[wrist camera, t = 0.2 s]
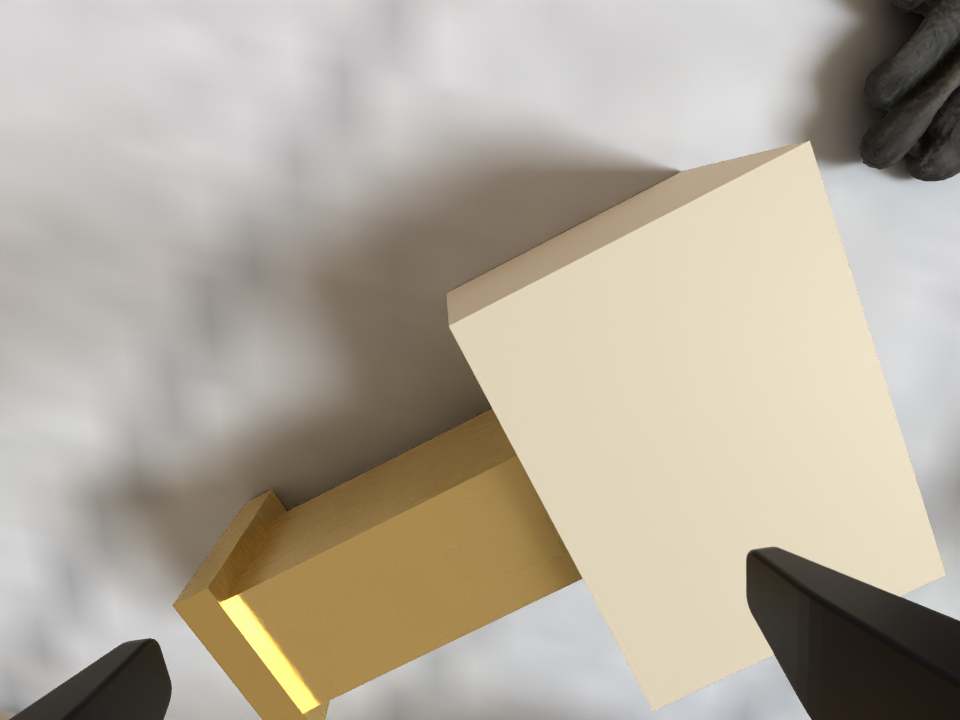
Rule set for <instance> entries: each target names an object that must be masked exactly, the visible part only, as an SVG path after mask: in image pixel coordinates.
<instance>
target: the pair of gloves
mask: <svg viewBox="0 0 960 720" xmlns="http://www.w3.org/2000/svg"><path fill="white" fill-rule="evenodd" d="M891 5H893V6H894V7H896V8H898V9H899V10H901V11H903V12H905V13H907V12H915V13H919V14H922V15H923V16H924V17H925V18H924V20H923V21H922V23H921V24H920V26H919V27H918V29H917V30H916V31H915V33H914V34H913V35H912V36H911V38H910V39H909V40H908V41H907V42H906V43H905V45H904V46H903V47H902V48H901V49H900V50H899V51H898V52H897V53H896V54H895V55H894V56H893V57H892V58H891V59H888V60H885V61H884V62H882V63H881V64H880V65H879V66H878V67H876V68H875V69H874V70H873V71H872V72H871V73H870V74H869V76H868V77H867V79H866V81H865V82H866V83H865V88H864V93H865V96H866V99H867V101H868V103H869V105H871V106H873V107H875V108H877V109H880V110H888V114H887V115H886V116H885V117H884V118H882V119H880V120H879V121H877V122H875V123H873V124H872V125H871V126H870V127H869V128H868V129H867V131H866V132H865V133H864V134H863V135H862V138H861V143H860V148H859V149H860V156H861V157H862V158H863V163H864V164H866V165H867V166H869V167H873V168H877V169H884V168H888V167H890V166H892V165H894V164H897V163H898V162H899V161H900V160H901V159H902V158H903V157H904V162H905V167H906V169H907V171H908V173H909V174H910V175H912V176H913V177H915V178H916V179H919V180H922V181H940V180H945V179H947V178H950V177H952V176H954V175H956V174H958V173H959V172H960V0H891Z"/></svg>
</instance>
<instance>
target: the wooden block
mask: <svg viewBox="0 0 960 720" xmlns="http://www.w3.org/2000/svg"><path fill="white" fill-rule="evenodd" d="M580 579H582V576H581V574H580V573H579V571H578V569H577V567H576V565H575V563H574V561H573V559H572V557H571V556H570V554H569V552H568V550H567V548H566V546H565V544H564V542H563V541H562V539H561V537H560V535H559V533H558V531H557V529H556V527H555V525H554V524H553V522H552V520H551V518H550V516H549V514H548V512H547V510H546V509H545V507H544V505H543V503H542V501H541V499H540V497H539V495H538V493H537V492H536V490H535V488H534V486H533V484H532V482H531V480H530V478H529V476H528V475H527V473H526V471H525V469H524V467H523V465H522V463H521V461H520V460H519V458H518V456H517V454H516V452H515V450H514V448H513V446H512V444H511V443H510V441H509V439H508V437H507V435H506V433H505V431H504V429H503V428H502V426H501V424H500V422H499V420H498V418H497V416H496V414H495V412H494V411H493V409H490V410H488V411H486V412H484V413H482V414H480V415H478V416H476V417H474V418H472V419H470V420H468V421H466V422H464V423H462V424H460V425H458V426H456V427H454V428H452V429H450V430H448V431H446V432H444V433H442V434H440V435H438V436H436V437H434V438H432V439H430V440H428V441H426V442H425V443H423V444H421V445H419V446H417V447H415V448H413V449H411V450H409V451H407V452H405V453H403V454H401V455H399V456H397V457H395V458H393V459H391V460H389V461H387V462H385V463H383V464H381V465H379V466H377V467H375V468H373V469H371V470H369V471H367V472H365V473H363V474H361V475H359V476H357V477H355V478H353V479H351V480H349V481H347V482H345V483H343V484H341V485H339V486H337V487H335V488H333V489H331V490H329V491H327V492H325V493H323V494H321V495H319V496H317V497H315V498H313V499H311V500H309V501H307V502H305V503H303V504H301V505H299V506H297V507H295V508H293V509H291V510H289V511H287V510H286V509H285V507H284V506H283V504H282V503H281V501H280V500H279V499H278V497H277V496H276V494H275V493H274V491H273V490H270V491H268V492H266V493H264V494H262V495H260V496H258V497H256V498H254V499H252V500H250V501H248V502H246V504H245V505H244V506H243V508H242V509H241V511H240V512H239V513H238V515H237V516H236V518H235V519H234V520H233V522H232V523H231V525H230V526H229V527H228V529H227V530H226V532H225V533H224V534H223V536H222V537H221V539H220V540H219V541H218V543H217V544H216V546H215V547H214V548H213V550H212V551H211V553H210V554H209V555H208V557H207V558H206V560H205V561H204V562H203V564H202V565H201V567H200V568H199V569H198V571H197V572H196V574H195V575H194V576H193V578H192V579H191V581H190V582H189V583H188V585H187V586H186V588H185V589H184V590H183V592H182V593H181V595H180V596H179V597H178V599H177V600H176V602H175V603H174V604H173V607H174V608H175V609H176V611H177V612H178V613H179V614H180V616H181V617H182V618H183V619H184V621H185V622H186V623H187V625H188V626H189V627H190V628H191V630H192V631H193V632H194V633H195V635H196V636H197V637H198V638H199V640H200V641H201V642H202V644H203V645H204V646H205V647H206V649H207V650H208V651H209V652H210V654H211V655H212V656H213V658H214V659H215V660H216V661H217V663H218V664H219V665H220V666H221V668H222V669H223V670H224V671H225V673H226V674H227V675H228V677H229V678H230V679H231V680H232V682H233V683H234V684H235V685H236V687H237V688H238V689H239V691H240V692H241V693H242V694H243V696H244V697H245V698H246V699H247V701H248V702H249V703H250V705H251V706H252V707H253V708H254V710H255V711H256V712H257V713H258V715H259V716H260V717H261V718H262V720H325V717H326V713H327V709H328V705H329V701H330V700H331V699H333V698H335V697H337V696H339V695H341V694H343V693H346V692H348V691H350V690H352V689H354V688H356V687H358V686H360V685H362V684H364V683H366V682H368V681H370V680H373V679H375V678H377V677H379V676H381V675H383V674H385V673H387V672H389V671H391V670H393V669H395V668H397V667H400V666H402V665H404V664H406V663H408V662H410V661H412V660H414V659H416V658H418V657H420V656H422V655H424V654H427V653H429V652H431V651H433V650H435V649H437V648H439V647H441V646H443V645H445V644H447V643H449V642H452V641H454V640H456V639H458V638H460V637H462V636H464V635H466V634H468V633H470V632H472V631H474V630H476V629H479V628H481V627H483V626H485V625H487V624H489V623H491V622H493V621H495V620H497V619H499V618H501V617H503V616H506V615H508V614H510V613H512V612H514V611H516V610H518V609H520V608H522V607H524V606H526V605H528V604H530V603H533V602H535V601H537V600H539V599H541V598H543V597H545V596H547V595H549V594H551V593H553V592H555V591H557V590H560V589H562V588H564V587H566V586H568V585H570V584H572V583H574V582H576V581H578V580H580Z"/></svg>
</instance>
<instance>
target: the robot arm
mask: <svg viewBox="0 0 960 720" xmlns="http://www.w3.org/2000/svg"><path fill="white" fill-rule="evenodd" d="M746 598H747V603H748V606H749V609H750V612H751V614H752V615H753V617H754V619H755V621H756V623H757V624H758V626H759V628H760V630H761V632H762V633H763V635H764V637H765V639H766V641H767V642H768V644H769V646H770V648H771V650H772V651H773V653H774V655H775V657H776V659H777V660H778V662H779V664H780V666H781V668H782V669H783V671H784V673H785V675H786V677H787V678H788V680H789V682H790V684H791V686H792V687H793V689H794V691H795V693H796V695H797V696H798V698H799V700H800V701H801V703H802V705H803V706H804V708H805V710H806V712H807V713H808V715H809V716H810V718H811V719H812V720H960V621H959V620H956V619H954V618H951V617H949V616H946V615H944V614H941V613H939V612H936V611H934V610H931V609H929V608H927V607H924V606H922V605H919V604H917V603H914V602H912V601H909V600H907V599H904V598H902V597H899V596H897V595H894V594H892V593H889V592H887V591H885V590H882V589H880V588H877V587H875V586H872V585H870V584H867V583H865V582H862V581H860V580H857V579H855V578H852V577H850V576H848V575H845V574H843V573H840V572H838V571H835V570H833V569H830V568H828V567H825V566H823V565H820V564H818V563H815V562H813V561H810V560H808V559H806V558H803V557H801V556H798V555H796V554H793V553H791V552H788V551H786V550H783V549H781V548H778V547H765V548H758V549H752V550H750V551H749V552H748V554H747V556H746ZM171 691H172V687H171V680H170V677H169V674H168V670H167V667H166V664H165V661H164V658H163V654H162V651H161V648H160V645H159V643H158V642H157V641H156V640H155V639H151V638H148V639H141V640H134V641H128V642H125V643H123V644H121V645H119V646H118V647H116V648H115V649H113V650H112V651H110V652H109V653H107V654H106V655H104V656H103V657H101V658H100V659H98V660H97V661H95V662H94V663H93V664H91V665H90V666H88V667H87V668H85V669H84V670H82V671H81V672H79V673H78V674H76V675H75V676H73V677H72V678H70V679H69V680H67V681H66V682H64V683H63V684H61V685H60V686H58V687H57V688H55V689H54V690H52V691H51V692H49V693H48V694H46V695H45V696H43V697H42V698H41V699H39V700H38V701H36V702H35V703H33V704H32V705H30V706H29V707H27V708H26V709H24V710H23V711H21V712H20V713H18V714H17V715H15V716H14V717H12V718H11V719H9V720H163V719H164V717H165V714H166V711H167V708H168V705H169V702H170V698H171Z"/></svg>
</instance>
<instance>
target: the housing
mask: <svg viewBox="0 0 960 720" xmlns="http://www.w3.org/2000/svg"><path fill="white" fill-rule="evenodd" d="M447 309H448V324H449V328H450V330H451V331H452V333H453V335H454V337H455V339H456V341H457V343H458V345H459V347H460V348H461V350H462V352H463V354H464V356H465V358H466V360H467V362H468V363H469V365H470V367H471V369H472V371H473V373H474V375H475V377H476V379H477V380H478V382H479V384H480V386H481V388H482V390H483V392H484V394H485V395H486V397H487V399H488V401H489V403H490V405H491V407H492V409H493V411H494V412H495V414H496V416H497V418H498V420H499V422H500V424H501V426H502V428H503V429H504V431H505V433H506V435H507V437H508V439H509V441H510V443H511V444H512V446H513V448H514V450H515V452H516V454H517V456H518V458H519V460H520V461H521V463H522V465H523V467H524V469H525V471H526V473H527V475H528V476H529V478H530V480H531V482H532V484H533V486H534V488H535V490H536V492H537V493H538V495H539V497H540V499H541V501H542V503H543V505H544V507H545V509H546V510H547V512H548V514H549V516H550V518H551V520H552V522H553V524H554V525H555V527H556V529H557V531H558V533H559V535H560V537H561V539H562V541H563V542H564V544H565V546H566V548H567V550H568V552H569V554H570V556H571V557H572V559H573V561H574V563H575V565H576V567H577V569H578V571H579V573H580V574H581V576H582V578H583V580H584V582H585V584H586V586H587V588H588V590H589V591H590V593H591V595H592V597H593V599H594V601H595V603H596V605H597V606H598V608H599V610H600V612H601V614H602V616H603V618H604V620H605V622H606V623H607V625H608V627H609V629H610V631H611V633H612V635H613V637H614V638H615V640H616V642H617V644H618V646H619V648H620V650H621V652H622V654H623V655H624V657H625V659H626V661H627V663H628V665H629V667H630V669H631V671H632V672H633V674H634V676H635V678H636V680H637V682H638V684H639V686H640V687H641V689H642V691H643V693H644V695H645V697H646V699H647V701H648V703H649V704H650V706H651V708H652V710H653V711H654V710H656V709H658V708H661V707H663V706H665V705H667V704H669V703H671V702H674V701H676V700H678V699H680V698H682V697H684V696H686V695H689V694H691V693H693V692H695V691H697V690H699V689H702V688H704V687H706V686H708V685H710V684H712V683H714V682H717V681H719V680H721V679H723V678H725V677H727V676H729V675H732V674H734V673H736V672H738V671H740V670H742V669H745V668H747V667H749V666H751V665H753V664H755V663H757V662H760V661H762V660H764V659H766V658H768V657H770V656H773V655H774V653H773V651H772V650H771V648H770V646H769V644H768V642H767V641H766V639H765V637H764V635H763V633H762V632H761V630H760V628H759V626H758V624H757V623H756V621H755V619H754V617H753V615H752V614H751V612H750V609H749V606H748V603H747V598H746V556H747V554H748V552H749V551H750V550H752V549H758V548H765V547H778V548H781V549H783V550H786V551H788V552H791V553H793V554H796V555H798V556H801V557H803V558H806V559H808V560H810V561H813V562H815V563H818V564H820V565H823V566H825V567H828V568H830V569H833V570H835V571H838V572H840V573H843V574H845V575H848V576H850V577H852V578H855V579H857V580H860V581H862V582H865V583H867V584H870V585H872V586H875V587H877V588H880V589H882V590H885V591H887V592H889V593H892V594H894V595H897V596H902V595H904V594H906V593H908V592H910V591H912V590H915V589H917V588H919V587H921V586H923V585H925V584H927V583H930V582H932V581H934V580H936V579H938V578H940V577H942V576H945V575H946V573H945V570H944V566H943V563H942V560H941V557H940V554H939V551H938V547H937V544H936V541H935V538H934V535H933V531H932V528H931V525H930V522H929V519H928V516H927V512H926V509H925V506H924V503H923V500H922V496H921V493H920V490H919V487H918V484H917V480H916V477H915V474H914V471H913V468H912V465H911V461H910V458H909V455H908V452H907V449H906V445H905V442H904V439H903V436H902V433H901V430H900V426H899V423H898V420H897V417H896V414H895V410H894V407H893V404H892V401H891V398H890V394H889V391H888V388H887V385H886V382H885V379H884V375H883V372H882V369H881V366H880V363H879V359H878V356H877V353H876V350H875V347H874V344H873V340H872V337H871V334H870V331H869V328H868V324H867V321H866V318H865V315H864V312H863V308H862V305H861V302H860V299H859V296H858V293H857V289H856V286H855V283H854V280H853V277H852V273H851V270H850V267H849V264H848V261H847V258H846V254H845V251H844V248H843V245H842V242H841V238H840V235H839V232H838V229H837V226H836V222H835V219H834V216H833V213H832V210H831V207H830V203H829V200H828V197H827V194H826V191H825V187H824V184H823V181H822V178H821V175H820V172H819V168H818V165H817V162H816V159H815V156H814V152H813V149H812V146H811V143H810V141H806V142H802V143H798V144H793V145H789V146H785V147H781V148H777V149H773V150H768V151H764V152H760V153H756V154H752V155H747V156H743V157H739V158H735V159H731V160H727V161H722V162H718V163H714V164H710V165H706V166H701V167H697V168H693V169H689V170H685V171H682V172H680V173H678V174H676V175H674V176H672V177H670V178H668V179H666V180H664V181H662V182H660V183H658V184H656V185H655V186H653V187H651V188H649V189H647V190H645V191H643V192H641V193H639V194H637V195H635V196H633V197H631V198H629V199H627V200H626V201H624V202H622V203H620V204H618V205H616V206H614V207H612V208H610V209H608V210H606V211H604V212H602V213H600V214H598V215H597V216H595V217H593V218H591V219H589V220H587V221H585V222H583V223H581V224H579V225H577V226H575V227H573V228H571V229H569V230H567V231H566V232H564V233H562V234H560V235H558V236H556V237H554V238H552V239H550V240H548V241H546V242H544V243H542V244H540V245H538V246H537V247H535V248H533V249H531V250H529V251H527V252H525V253H523V254H521V255H519V256H517V257H515V258H513V259H511V260H509V261H508V262H506V263H504V264H502V265H500V266H498V267H496V268H494V269H492V270H490V271H488V272H486V273H484V274H482V275H480V276H479V277H477V278H475V279H473V280H471V281H469V282H467V283H465V284H463V285H461V286H459V287H457V288H455V289H453V290H451V291H450V292H448V293H447Z"/></svg>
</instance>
